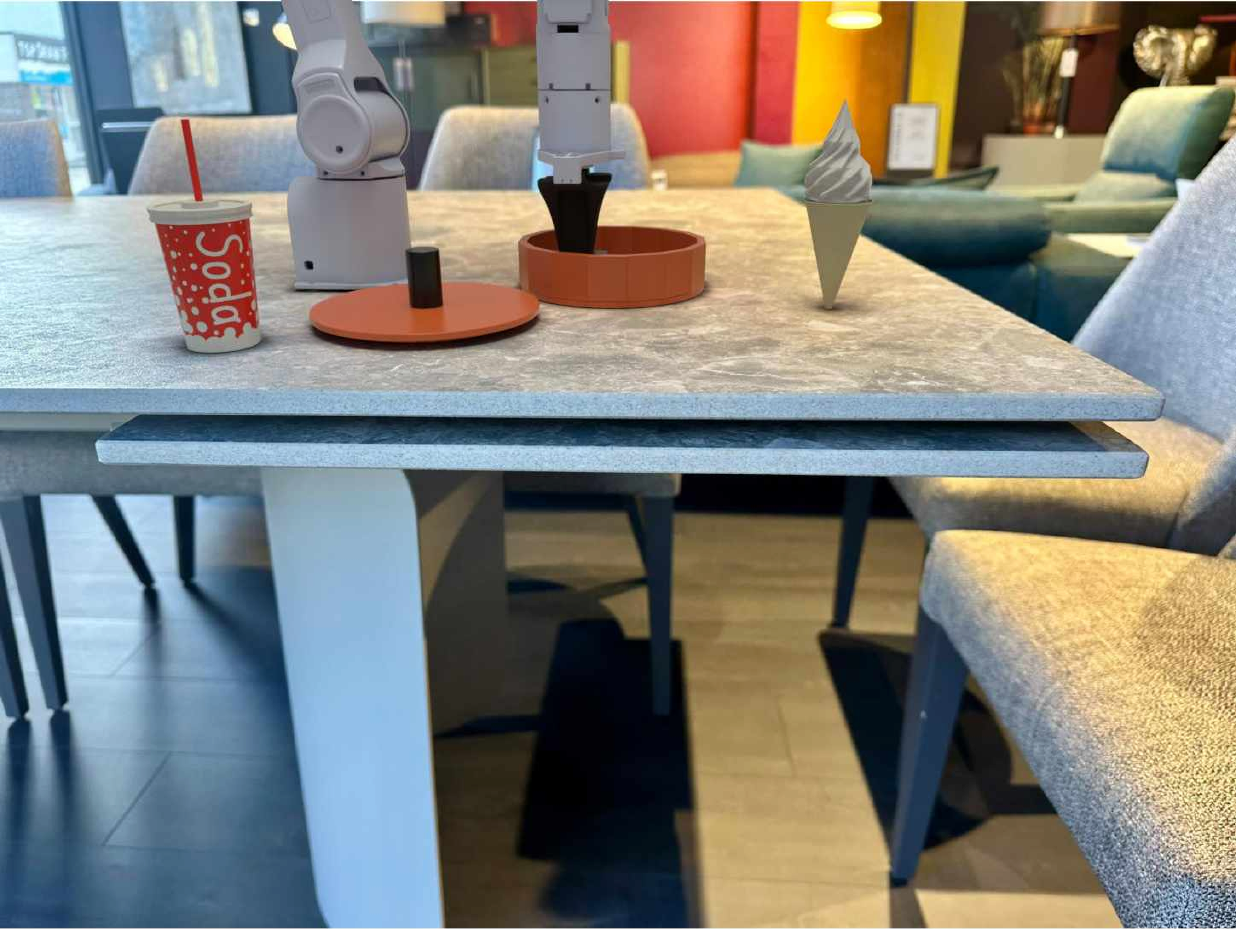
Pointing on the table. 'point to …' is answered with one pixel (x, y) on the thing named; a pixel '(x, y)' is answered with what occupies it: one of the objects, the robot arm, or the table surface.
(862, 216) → the ice cream cone
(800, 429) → the table surface
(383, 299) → the pan lid
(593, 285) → the pan
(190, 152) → the beverage cup
